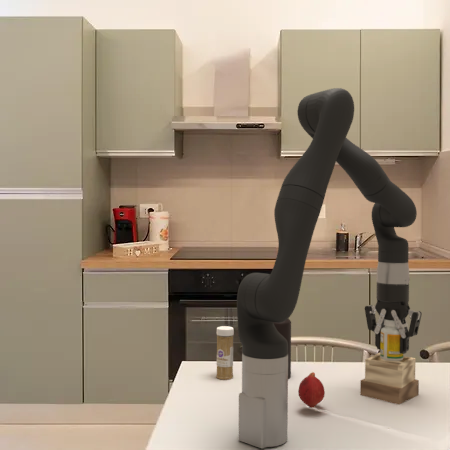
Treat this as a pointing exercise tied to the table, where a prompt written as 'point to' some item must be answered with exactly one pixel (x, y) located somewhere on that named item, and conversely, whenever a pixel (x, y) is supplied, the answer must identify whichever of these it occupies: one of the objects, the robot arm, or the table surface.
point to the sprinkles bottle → (225, 352)
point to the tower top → (390, 371)
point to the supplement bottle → (390, 342)
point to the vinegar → (285, 331)
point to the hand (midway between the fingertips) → (391, 350)
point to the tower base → (389, 391)
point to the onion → (311, 390)
